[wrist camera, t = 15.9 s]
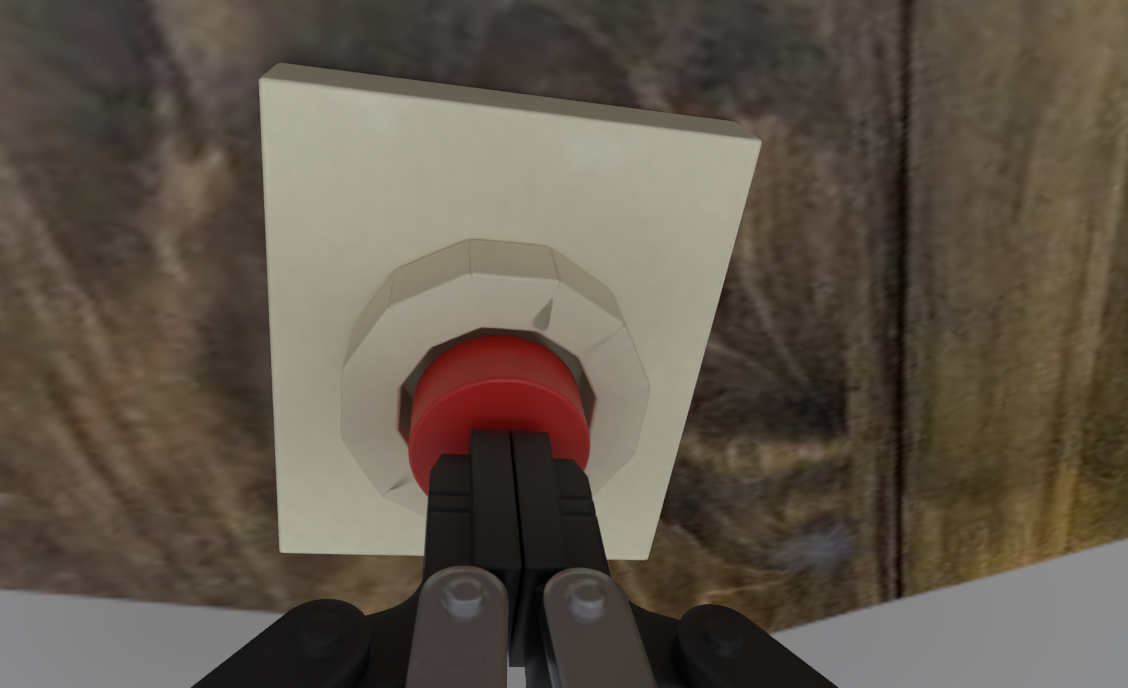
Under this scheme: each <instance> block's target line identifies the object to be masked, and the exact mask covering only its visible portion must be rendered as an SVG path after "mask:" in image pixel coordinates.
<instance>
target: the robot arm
mask: <svg viewBox="0 0 1128 688" xmlns="http://www.w3.org/2000/svg"><path fill="white" fill-rule="evenodd" d="M507 653H508V657H509V667H525V675H526V688H838V687H837V686H836V685H834V684H833V683H832V682H830V681H829V680H828V679H826V678H825V677H824V676H822V675H821V674H820V673H819V672H817V671H816V670H815V669H813V668H812V667H811V666H809V665H808V664H806V663H805V662H804V661H803V660H801V659H800V658H799V657H797V656H796V655H795V654H794V653H792V652H791V651H790V650H788V649H787V648H786V647H784V646H783V645H782V644H780V643H779V642H778V641H777V640H775V639H774V638H772V637H771V636H770V635H769V634H767V633H766V632H765V631H763V630H762V629H761V628H759V627H758V626H757V625H756V624H754V623H753V622H752V621H750V620H749V619H748V618H746V617H745V616H743V615H742V614H740V613H739V612H737V611H735V610H733V609H730V608H728V607H725V606H720V605H714V604H704V605H699V606H696V607H693V608H691V609H690V610H688V611H687V612H686V613H685V614H684V615H683V617H682V618H681V620H677V619H674V618H670V617H667V616H664V615H660V614H657V613H653V612H650V611H647V610H645V609H643V608H641V607H638V606H637V605H635V604H634V603H632V602H630V601H629V600H628V598H627V596H626V594H625V592H624V590H623V589H622V587H621V586H620V585H619V584H618V583H617V582H616V581H615V580H614V579H612V578H611V575H610V572H609V567H608V563H607V558H606V554H605V550H604V545H603V541H602V536H601V532H600V528H599V523H598V519H597V516H596V510H595V506H594V501H593V500H592V492H591V488H590V483H589V479H588V476H587V475H586V474H585V472H584V471H583V470H582V469H581V468H580V466H579V465H578V464H577V463H576V461H575V460H574V459H561V458H553V455H552V449H551V443H550V437H549V433H548V432H538V431H517V430H511V431H510V434H509V431H508V430H494V429H474V428H471V430H470V436H469V445H468V455H466V454H443V453H442V454H441V456H440V457H439V459H438V460H437V461H436V463H435V464H434V466H433V467H432V469H431V470H430V477H429V490H428V502H427V515H426V528H425V545H424V562H423V580H422V582H421V584H420V586H419V588H418V589H417V590H416V592H415V593H414V594H413V595H412V596H411V597H410V598H409V599H407V600H406V601H404V602H403V603H401V604H400V605H398V606H395V607H393V608H391V609H388V610H385V611H381V612H378V613H374V614H370V615H366V616H365V615H364V614H363V613H362V611H360V610H359V609H358V608H357V607H355V606H354V605H352V604H350V603H347V602H344V601H341V600H335V599H320V600H314V601H309V602H306V603H304V604H301V605H299V606H297V607H295V608H293V609H292V610H290V611H289V612H287V613H286V614H284V615H283V616H282V617H281V618H279V619H278V620H277V621H276V622H274V623H273V624H272V625H270V626H269V627H268V628H267V629H265V630H264V631H263V632H261V633H260V634H259V635H258V636H256V637H255V638H254V639H252V640H251V641H250V642H249V643H247V644H246V645H245V646H244V647H242V648H241V649H240V650H238V651H237V652H236V653H235V654H233V655H232V656H231V657H230V658H228V659H227V660H226V661H224V662H223V663H222V664H220V665H219V666H218V667H217V668H215V669H214V670H213V671H212V672H210V673H209V674H208V675H206V676H205V677H204V678H203V679H201V680H200V681H199V682H197V683H196V684H195V685H194V686H193V687H191V688H507Z"/></svg>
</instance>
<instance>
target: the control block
mask: <svg viewBox="0 0 1128 688" xmlns="http://www.w3.org/2000/svg"><path fill="white" fill-rule="evenodd" d="M259 98H260V120H261V143H262V165H263V188H264V211H265V233H266V256H267V279H268V301H269V324H270V347H271V369H272V392H273V415H274V437H275V460H276V483H277V505H278V528H279V549H280V552H282V553H313V554H364V555H414V556H424V545H425V528H426V515H427V502H428V496H427V495H426V494H425V493H424V492H423V491H422V489H421V488H420V487H419V485H418V483H417V482H416V480H415V478H414V476H413V473H412V471H411V468H410V463H409V452H408V448H409V437H410V427H411V416H412V406H413V398H414V393H415V389H416V386H417V384H418V382H419V380H420V378H421V376H422V374H423V373H424V371H425V370H426V368H427V367H428V366H429V365H430V364H431V363H432V362H433V361H434V360H435V359H436V358H437V357H438V356H440V355H441V354H442V353H443V352H445V351H446V350H448V349H450V348H451V347H453V346H455V345H457V344H459V343H461V342H464V341H467V340H470V339H473V338H477V337H482V336H490V335H509V336H517V337H521V338H525V339H529V340H531V341H534V342H536V343H539V344H540V345H542V346H544V347H546V348H548V349H549V350H551V351H552V352H553V353H555V354H556V355H557V356H558V357H559V358H560V359H562V360H563V361H564V363H565V364H566V365H567V366H568V368H569V369H570V371H571V373H572V374H573V376H574V378H575V381H576V383H577V386H578V390H579V394H580V398H581V402H582V406H583V410H584V414H585V418H586V422H587V426H588V431H589V435H590V455H589V459H588V463H587V466H586V468H585V471H584V472H585V474H586V475H587V476H588V479H589V483H590V488H591V492H592V500H593V501H594V506H595V510H596V516H597V519H598V523H599V528H600V532H601V536H602V541H603V545H604V550H605V554H606V558H607V559H616V560H647V559H648V556H649V553H650V549H651V545H652V542H653V538H654V534H655V531H656V527H657V524H658V520H659V516H660V513H661V509H662V505H663V502H664V498H665V494H666V491H667V487H668V483H669V480H670V476H671V473H672V469H673V465H674V462H675V458H676V454H677V451H678V447H679V443H680V440H681V436H682V433H683V429H684V425H685V422H686V418H687V414H688V411H689V407H690V403H691V400H692V396H693V392H694V389H695V385H696V382H697V378H698V374H699V371H700V367H701V363H702V360H703V356H704V352H705V349H706V345H707V341H708V338H709V334H710V331H711V327H712V323H713V320H714V316H715V312H716V309H717V305H718V301H719V298H720V294H721V290H722V287H723V283H724V280H725V276H726V272H727V269H728V265H729V261H730V258H731V254H732V250H733V247H734V243H735V239H736V236H737V232H738V229H739V225H740V221H741V218H742V214H743V210H744V207H745V203H746V199H747V196H748V192H749V188H750V185H751V181H752V178H753V174H754V170H755V167H756V163H757V159H758V156H759V152H760V148H761V145H762V142H761V140H760V139H758V138H757V137H756V136H754V135H753V134H752V133H751V132H749V131H748V130H747V129H745V128H744V127H743V126H741V125H740V124H739V123H737V122H735V121H727V120H720V119H712V118H704V117H696V116H689V115H681V114H673V113H666V112H658V111H650V110H642V109H635V108H627V107H619V106H612V105H604V104H596V103H588V102H581V101H573V100H565V99H558V98H550V97H542V96H534V95H527V94H519V93H511V92H504V91H496V90H488V89H480V88H473V87H465V86H457V85H450V84H442V83H434V82H426V81H419V80H411V79H403V78H396V77H388V76H380V75H372V74H365V73H357V72H349V71H342V70H334V69H326V68H318V67H311V66H303V65H295V64H288V63H277V64H276V65H275V66H274V67H272V68H271V69H270V70H269V71H268V72H266V73H265V74H264V75H263V76H262V77H260V79H259Z"/></svg>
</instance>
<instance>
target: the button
mask: <svg viewBox="0 0 1128 688" xmlns="http://www.w3.org/2000/svg"><path fill="white" fill-rule="evenodd" d="M471 428H474V429H494V430H508V431H509V434H510V431H511V430H517V431H538V432H548V433H549V437H550V443H551V449H552V455H553V458H561V459H574V460H575V461H576V463H577V464H578V465H579V466H580V468H581V469H582V470H583V471H585V468H586V466H587V463H588V459H589V455H590V435H589V431H588V426H587V422H586V418H585V414H584V410H583V406H582V402H581V398H580V394H579V390H578V386H577V383H576V381H575V378H574V376H573V374H572V373H571V371H570V369H569V368H568V366H567V365H566V364H565V363H564V361H563V360H562V359H560V358H559V357H558V356H557V355H556V354H555V353H553V352H552V351H551V350H549V349H548V348H546V347H544V346H542V345H540V344H539V343H536V342H534V341H531V340H529V339H525V338H521V337H517V336H509V335H490V336H482V337H477V338H473V339H470V340H467V341H464V342H461V343H459V344H457V345H455V346H453V347H451V348H450V349H448V350H446V351H445V352H443V353H442V354H441V355H440V356H438V357H437V358H436V359H435V360H434V361H433V362H432V363H431V364H430V365H429V366H428V367H427V368H426V370H425V371H424V373H423V374H422V376H421V378H420V380H419V382H418V384H417V386H416V389H415V393H414V398H413V406H412V416H411V427H410V437H409V448H408V452H409V463H410V468H411V471H412V473H413V476H414V478H415V480H416V482H417V483H418V485H419V487H420V488H421V489H422V491H423V492H424V493H425V494H426V495H427V496H428V490H429V477H430V470H431V469H432V467H433V466H434V464H435V463H436V461H437V460H438V459H439V457H440V456H441V454H442V453H443V454H466V455H468V445H469V436H470V430H471Z"/></svg>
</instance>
